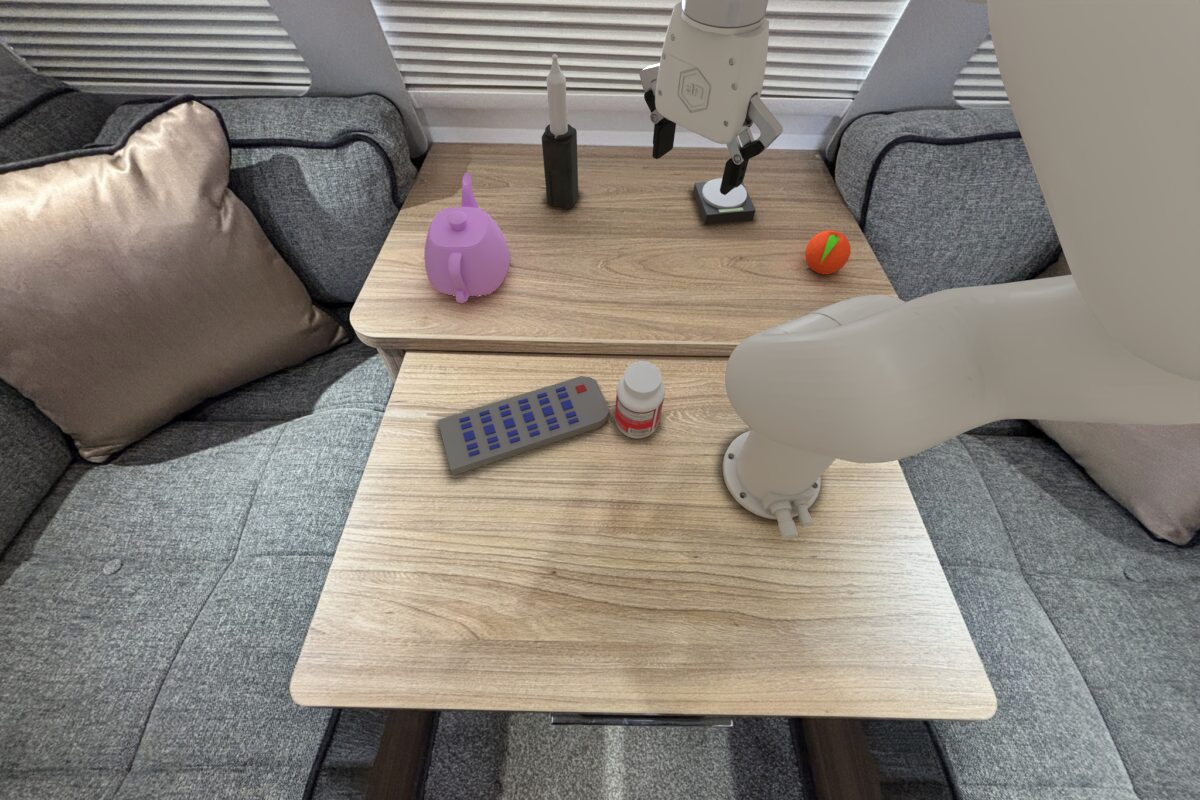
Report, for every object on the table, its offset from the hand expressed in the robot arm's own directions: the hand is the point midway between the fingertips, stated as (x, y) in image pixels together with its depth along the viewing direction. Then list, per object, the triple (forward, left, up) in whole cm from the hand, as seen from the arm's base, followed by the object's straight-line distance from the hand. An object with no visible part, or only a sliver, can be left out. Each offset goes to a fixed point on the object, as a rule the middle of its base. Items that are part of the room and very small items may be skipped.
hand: (695, 170), depth 62 cm
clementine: (+7, -28, -27) cm, 39 cm away
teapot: (+15, +30, -27) cm, 43 cm away
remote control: (-16, +24, -27) cm, 39 cm away
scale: (+25, -16, -26) cm, 40 cm away
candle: (+31, +13, -27) cm, 43 cm away
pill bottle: (-17, +8, -27) cm, 33 cm away
